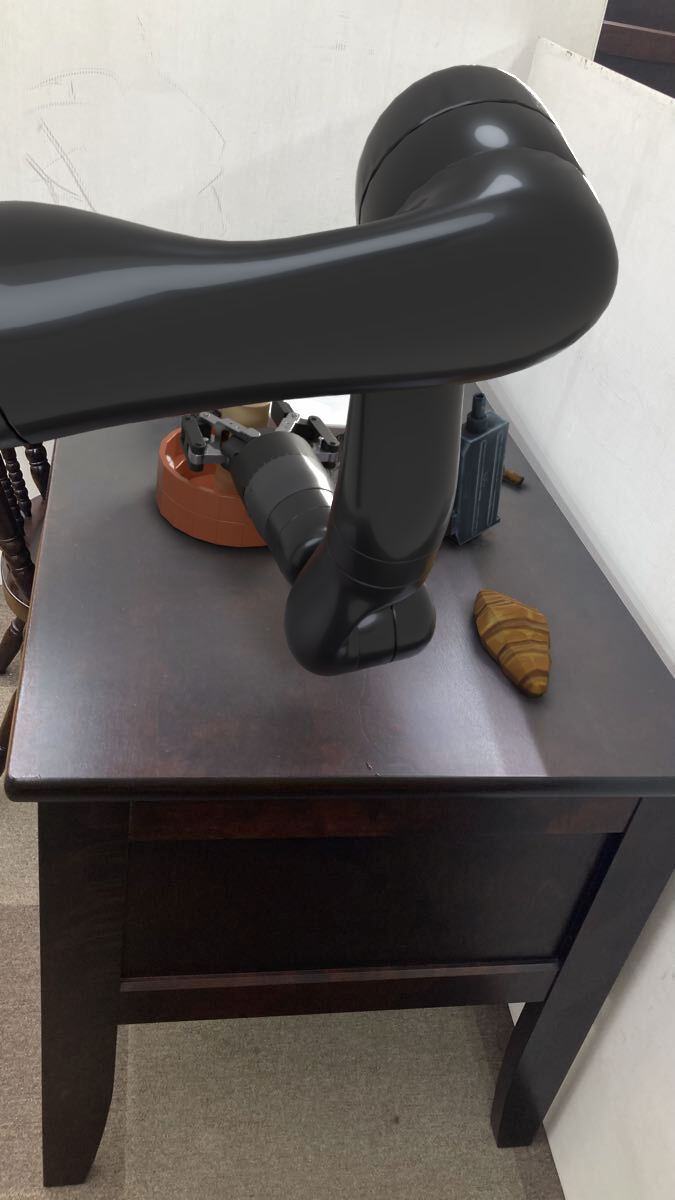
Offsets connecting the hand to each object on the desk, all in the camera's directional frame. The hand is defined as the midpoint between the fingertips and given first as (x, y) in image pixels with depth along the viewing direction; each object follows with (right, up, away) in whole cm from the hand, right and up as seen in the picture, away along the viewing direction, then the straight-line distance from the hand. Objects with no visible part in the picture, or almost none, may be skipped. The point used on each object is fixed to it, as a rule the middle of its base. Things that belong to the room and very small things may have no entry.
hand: (237, 405), depth 86 cm
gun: (+20, -13, +7) cm, 25 cm away
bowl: (+3, +3, +24) cm, 24 cm away
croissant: (+25, -24, -6) cm, 35 cm away
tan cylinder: (-1, -9, +4) cm, 10 cm away
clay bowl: (-1, -10, +5) cm, 11 cm away
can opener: (+28, -3, +22) cm, 36 cm away
